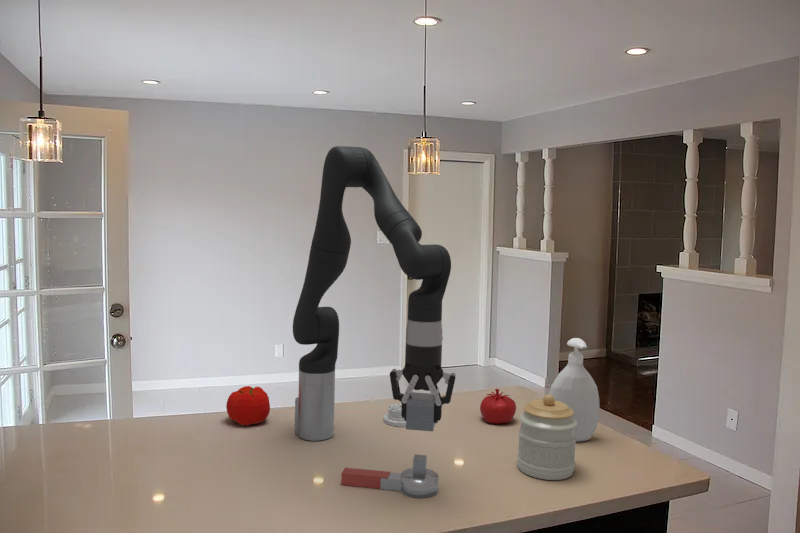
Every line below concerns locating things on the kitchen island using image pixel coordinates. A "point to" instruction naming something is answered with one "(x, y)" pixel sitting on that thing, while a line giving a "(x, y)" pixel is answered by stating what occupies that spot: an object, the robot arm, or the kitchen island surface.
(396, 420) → the mechanical component
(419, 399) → the brushed metal cube
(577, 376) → the soap bottle
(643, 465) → the kitchen island surface
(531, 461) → the jar
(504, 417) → the pomegranate
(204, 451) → the kitchen island surface
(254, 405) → the tomato
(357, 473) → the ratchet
